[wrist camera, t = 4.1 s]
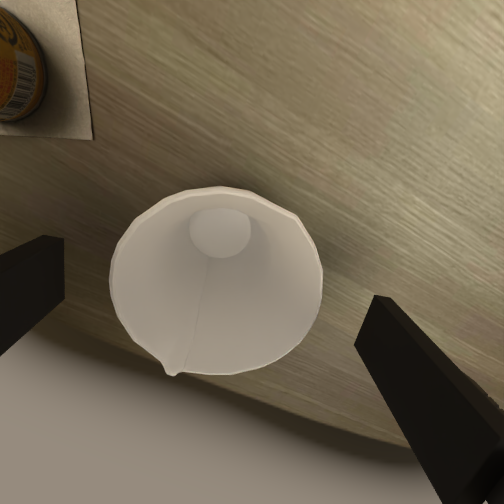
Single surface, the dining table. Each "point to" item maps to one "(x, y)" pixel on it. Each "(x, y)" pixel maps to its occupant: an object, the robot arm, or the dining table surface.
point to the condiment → (42, 71)
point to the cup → (216, 281)
